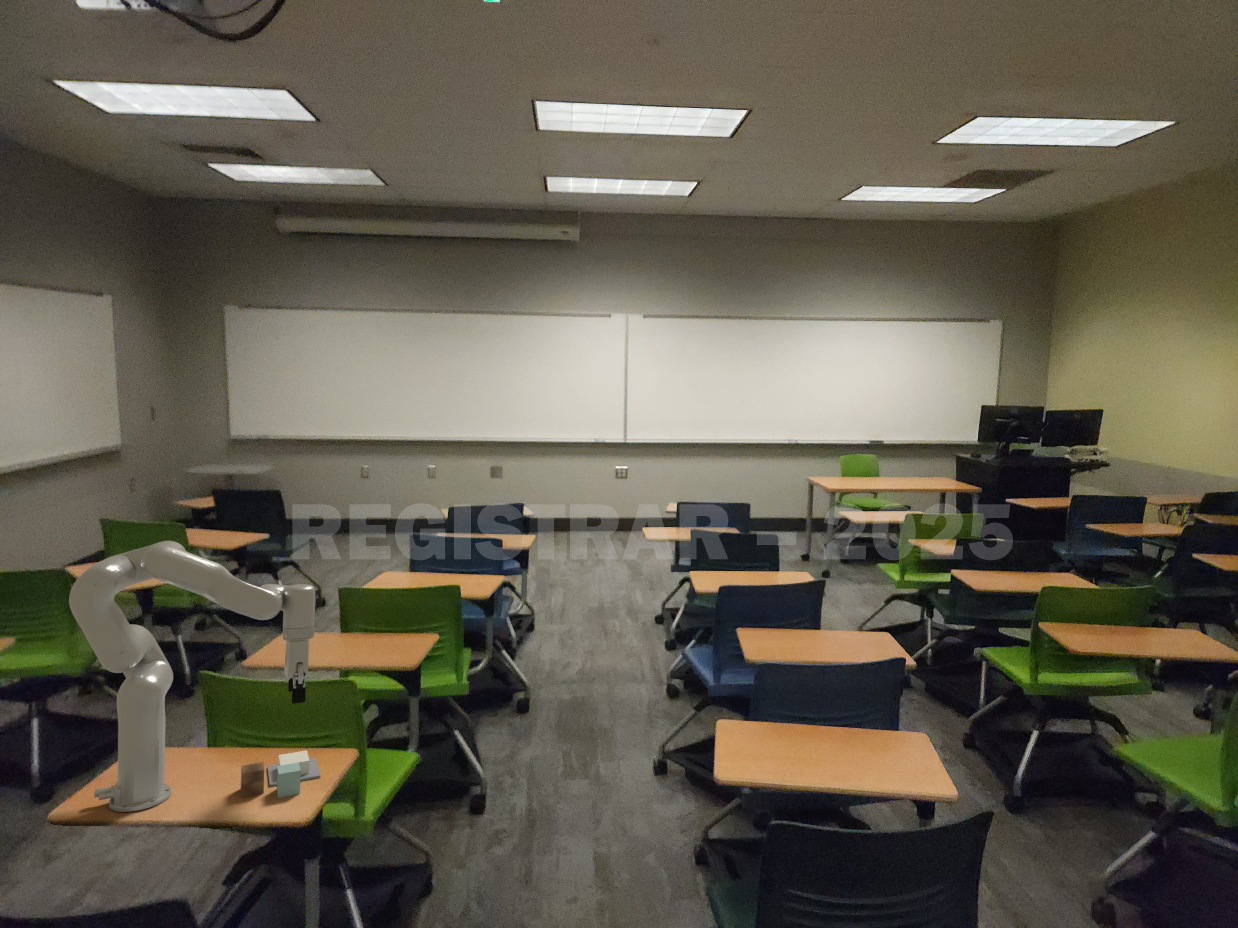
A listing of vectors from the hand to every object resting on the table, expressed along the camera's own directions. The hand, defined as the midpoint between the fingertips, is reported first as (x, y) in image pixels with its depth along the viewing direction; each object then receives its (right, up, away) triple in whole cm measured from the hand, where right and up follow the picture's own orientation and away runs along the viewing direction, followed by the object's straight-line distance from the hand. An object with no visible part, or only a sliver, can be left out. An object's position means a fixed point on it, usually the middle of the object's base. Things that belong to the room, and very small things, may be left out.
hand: (296, 696), depth 183 cm
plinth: (-2, -21, +3) cm, 22 cm away
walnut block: (-8, -22, -7) cm, 24 cm away
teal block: (+1, -22, -7) cm, 23 cm away
